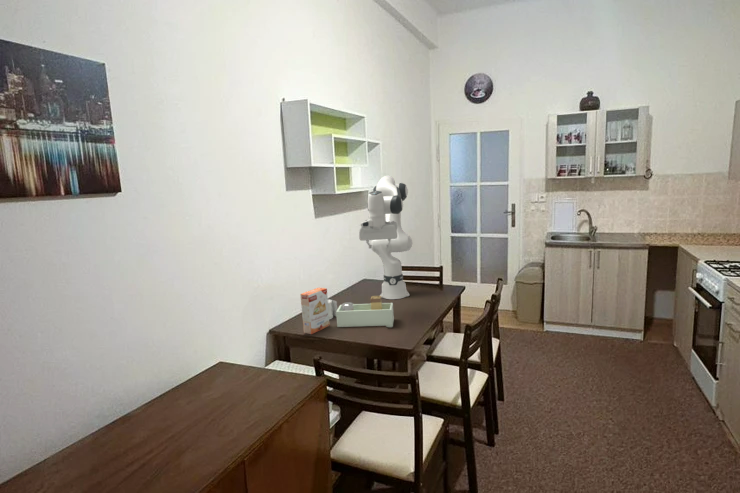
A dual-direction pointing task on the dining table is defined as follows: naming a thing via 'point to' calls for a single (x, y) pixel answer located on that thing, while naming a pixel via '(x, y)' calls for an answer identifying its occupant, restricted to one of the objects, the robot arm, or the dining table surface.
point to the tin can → (347, 306)
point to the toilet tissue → (332, 308)
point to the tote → (365, 316)
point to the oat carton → (376, 303)
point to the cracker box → (315, 310)
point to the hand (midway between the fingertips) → (379, 247)
